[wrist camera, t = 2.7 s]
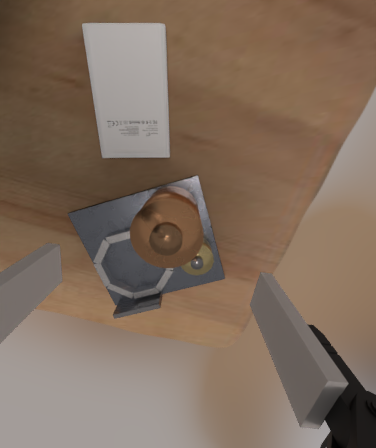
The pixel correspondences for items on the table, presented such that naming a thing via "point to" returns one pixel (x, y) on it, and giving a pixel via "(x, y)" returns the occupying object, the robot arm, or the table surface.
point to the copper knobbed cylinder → (168, 228)
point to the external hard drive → (129, 88)
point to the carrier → (131, 262)
